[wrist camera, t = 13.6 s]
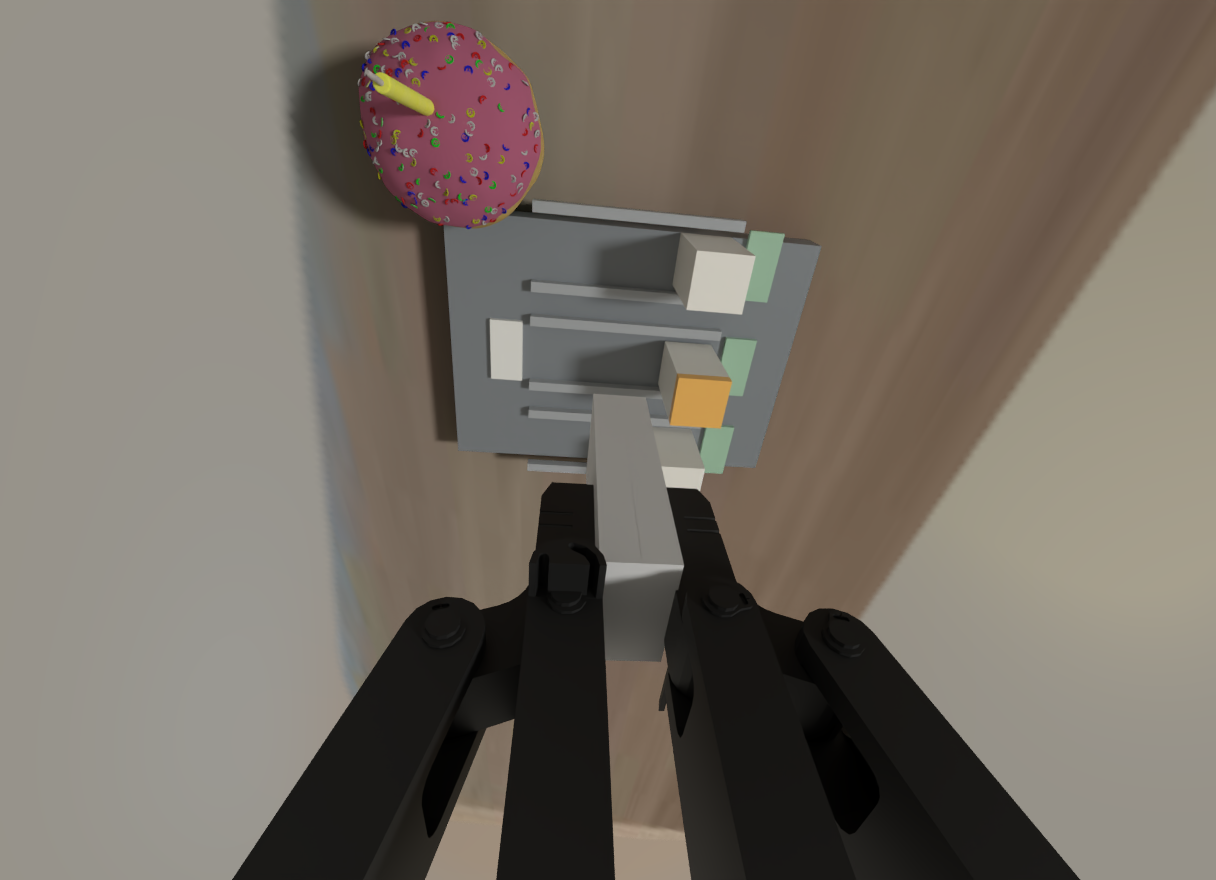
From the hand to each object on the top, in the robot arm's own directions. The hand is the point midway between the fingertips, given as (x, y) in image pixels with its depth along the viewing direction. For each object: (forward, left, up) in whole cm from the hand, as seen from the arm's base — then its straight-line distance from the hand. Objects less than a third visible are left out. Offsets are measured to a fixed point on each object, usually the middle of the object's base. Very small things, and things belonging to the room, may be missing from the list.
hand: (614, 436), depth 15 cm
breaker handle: (+5, +6, -18) cm, 20 cm away
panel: (+5, +2, -20) cm, 21 cm away
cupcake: (-7, -8, -21) cm, 23 cm away
